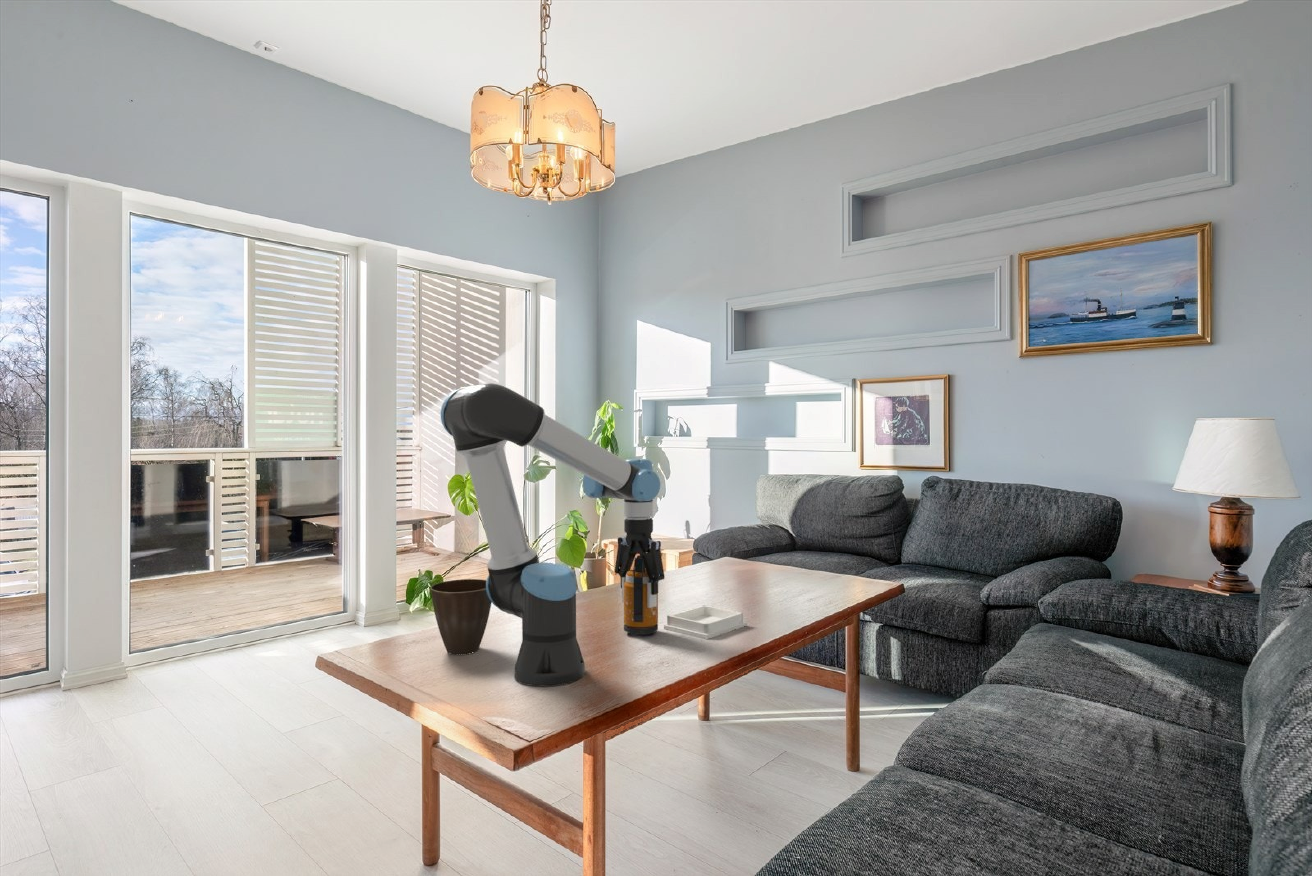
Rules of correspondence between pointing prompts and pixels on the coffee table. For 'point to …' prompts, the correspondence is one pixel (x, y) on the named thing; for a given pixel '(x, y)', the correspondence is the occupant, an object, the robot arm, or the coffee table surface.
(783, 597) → the coffee table surface
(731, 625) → the tray
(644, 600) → the canister
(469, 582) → the plant pot
